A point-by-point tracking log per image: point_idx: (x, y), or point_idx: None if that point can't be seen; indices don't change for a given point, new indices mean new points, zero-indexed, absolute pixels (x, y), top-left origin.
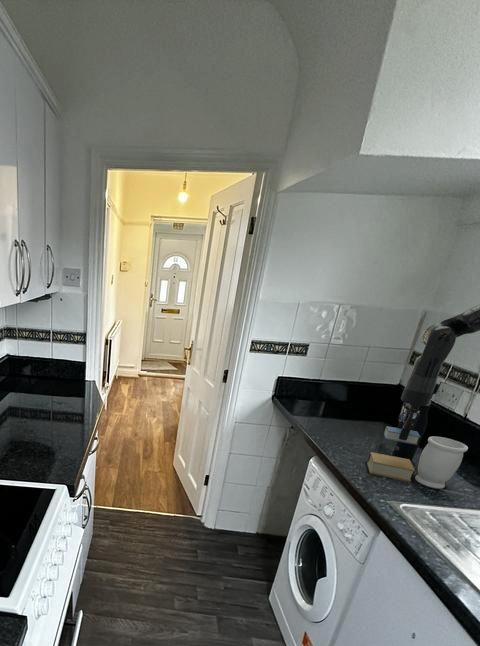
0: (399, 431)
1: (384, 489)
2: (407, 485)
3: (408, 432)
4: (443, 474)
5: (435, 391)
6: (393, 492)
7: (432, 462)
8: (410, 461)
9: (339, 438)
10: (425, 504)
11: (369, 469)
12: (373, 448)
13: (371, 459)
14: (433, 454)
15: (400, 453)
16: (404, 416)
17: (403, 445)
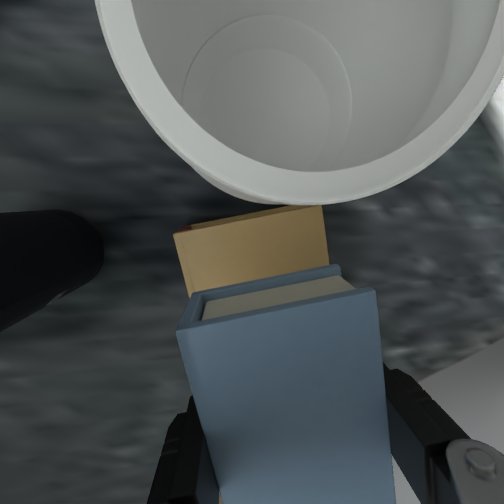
0: (341, 465)
1: (448, 275)
2: (355, 210)
3: (457, 427)
4: (349, 74)
5: None
6: (456, 248)
7: (378, 136)
8: (204, 228)
9: (5, 476)
10: (498, 147)
11: None
12: (5, 358)
13: None
14: (399, 136)
15: (78, 273)
16: None
17: (47, 289)
